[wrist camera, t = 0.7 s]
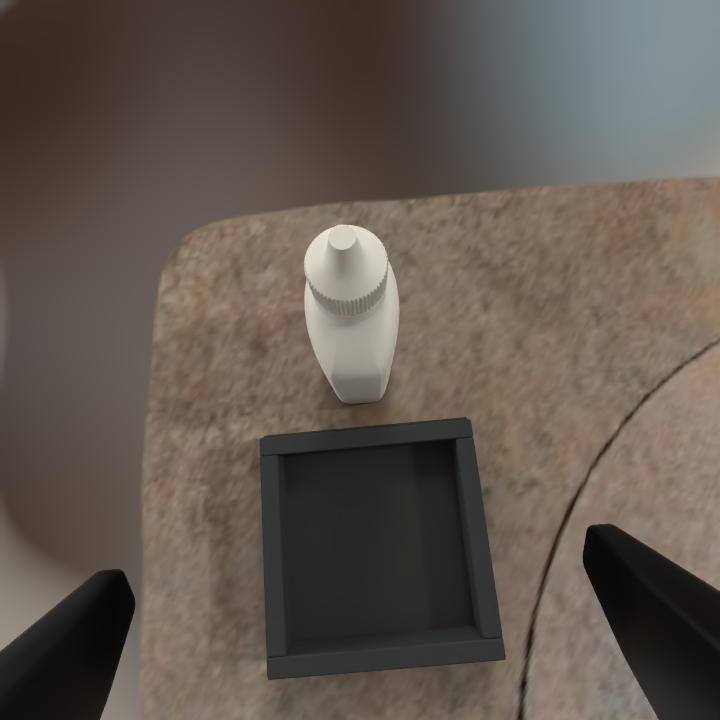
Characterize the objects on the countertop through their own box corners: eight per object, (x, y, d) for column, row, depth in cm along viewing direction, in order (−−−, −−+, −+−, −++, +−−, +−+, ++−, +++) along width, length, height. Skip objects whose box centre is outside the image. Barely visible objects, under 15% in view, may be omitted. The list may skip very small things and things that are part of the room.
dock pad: (494, 638, 19) (512, 666, 17) (276, 657, 19) (262, 687, 17) (463, 418, 21) (474, 414, 19) (268, 436, 21) (254, 434, 19)
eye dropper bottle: (417, 323, 22) (466, 178, 11) (373, 417, 21) (373, 372, 10) (344, 291, 23) (315, 120, 11) (298, 381, 22) (211, 298, 10)
